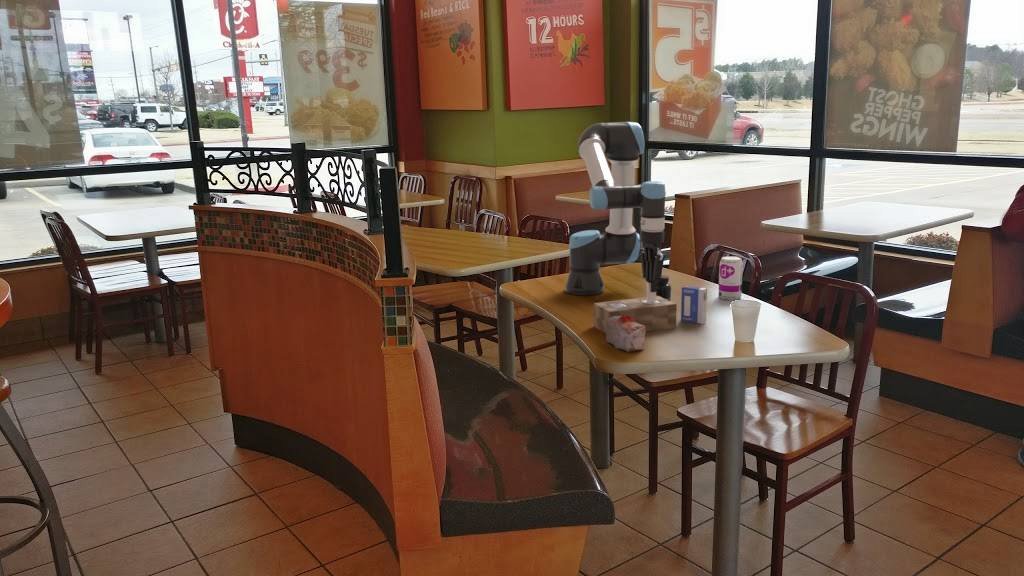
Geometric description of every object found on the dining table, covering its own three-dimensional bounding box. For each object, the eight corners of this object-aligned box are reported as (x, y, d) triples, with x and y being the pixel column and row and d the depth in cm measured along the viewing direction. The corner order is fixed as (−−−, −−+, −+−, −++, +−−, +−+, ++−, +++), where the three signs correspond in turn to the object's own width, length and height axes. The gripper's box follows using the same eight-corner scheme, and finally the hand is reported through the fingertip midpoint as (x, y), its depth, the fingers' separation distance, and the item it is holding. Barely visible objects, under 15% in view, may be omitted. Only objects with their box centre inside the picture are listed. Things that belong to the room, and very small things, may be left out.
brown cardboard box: (593, 326, 271) (593, 303, 269) (657, 318, 279) (658, 295, 277) (609, 336, 260) (610, 311, 258) (676, 327, 268) (676, 303, 266)
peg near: (607, 325, 269) (608, 304, 267) (621, 323, 270) (621, 302, 269) (614, 329, 264) (615, 308, 263) (628, 327, 266) (628, 306, 264)
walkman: (680, 321, 276) (681, 286, 273) (683, 319, 278) (685, 284, 275) (703, 324, 271) (704, 289, 268) (706, 322, 273) (707, 287, 271)
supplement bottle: (670, 312, 286) (671, 278, 284) (650, 311, 288) (651, 278, 285) (670, 307, 293) (671, 274, 290) (651, 306, 294) (652, 274, 292)
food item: (649, 351, 245) (649, 319, 243) (627, 355, 242) (627, 323, 239) (623, 339, 257) (623, 309, 255) (601, 343, 253) (601, 312, 251)
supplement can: (732, 301, 299) (734, 261, 296) (713, 297, 305) (715, 258, 302) (745, 297, 304) (747, 258, 301) (726, 293, 310) (728, 255, 307)
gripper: (632, 228, 269) (631, 297, 274) (652, 234, 257) (650, 306, 262) (652, 226, 271) (651, 295, 277) (673, 232, 259) (671, 304, 265)
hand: (651, 300), depth 270 cm, fingers closed
